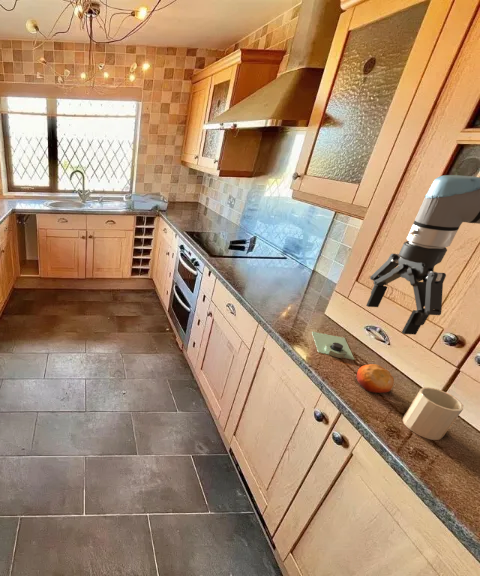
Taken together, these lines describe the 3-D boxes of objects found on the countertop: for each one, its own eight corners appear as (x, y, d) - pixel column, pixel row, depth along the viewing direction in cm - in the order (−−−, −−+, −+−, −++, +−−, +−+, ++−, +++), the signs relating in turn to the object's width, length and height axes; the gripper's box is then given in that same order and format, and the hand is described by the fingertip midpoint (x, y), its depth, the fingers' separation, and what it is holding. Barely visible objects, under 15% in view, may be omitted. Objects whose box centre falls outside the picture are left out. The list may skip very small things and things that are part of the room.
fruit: (370, 369, 94) (390, 361, 87) (382, 396, 90) (405, 389, 83) (343, 369, 94) (361, 361, 88) (354, 396, 90) (374, 389, 83)
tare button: (340, 347, 102) (342, 343, 101) (342, 352, 100) (344, 348, 99) (330, 345, 103) (331, 341, 102) (332, 350, 101) (333, 346, 100)
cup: (433, 421, 79) (453, 392, 74) (448, 444, 73) (470, 414, 69) (397, 412, 82) (414, 383, 77) (409, 433, 76) (428, 404, 71)
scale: (343, 340, 110) (346, 334, 108) (354, 364, 98) (357, 357, 97) (310, 334, 113) (313, 327, 112) (317, 356, 102) (320, 349, 101)
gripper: (373, 229, 85) (346, 296, 95) (456, 263, 63) (409, 346, 72) (403, 229, 84) (373, 297, 94) (497, 264, 62) (445, 348, 72)
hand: (388, 319), depth 83 cm, fingers open, 13 cm apart
